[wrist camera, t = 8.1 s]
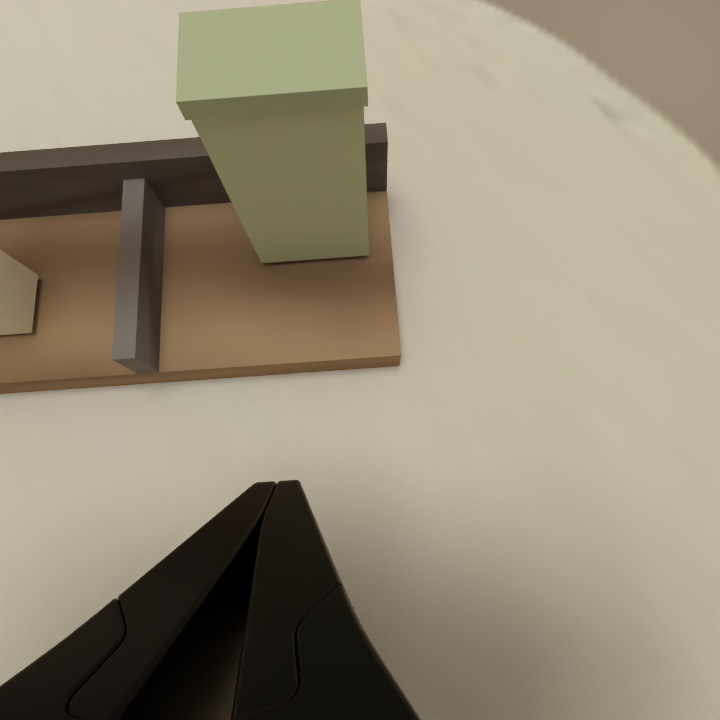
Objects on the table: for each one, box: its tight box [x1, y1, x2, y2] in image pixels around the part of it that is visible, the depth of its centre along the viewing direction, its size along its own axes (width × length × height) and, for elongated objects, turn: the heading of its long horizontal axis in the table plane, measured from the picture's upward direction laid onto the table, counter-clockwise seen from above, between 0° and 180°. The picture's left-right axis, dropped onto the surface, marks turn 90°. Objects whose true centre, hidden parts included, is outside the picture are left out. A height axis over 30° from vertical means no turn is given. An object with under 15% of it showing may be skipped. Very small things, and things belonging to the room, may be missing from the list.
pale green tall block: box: [176, 0, 369, 263], centre depth 16 cm, size 3×4×9 cm, turn 94°
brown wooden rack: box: [0, 123, 401, 393], centre depth 20 cm, size 8×19×6 cm, turn 94°
